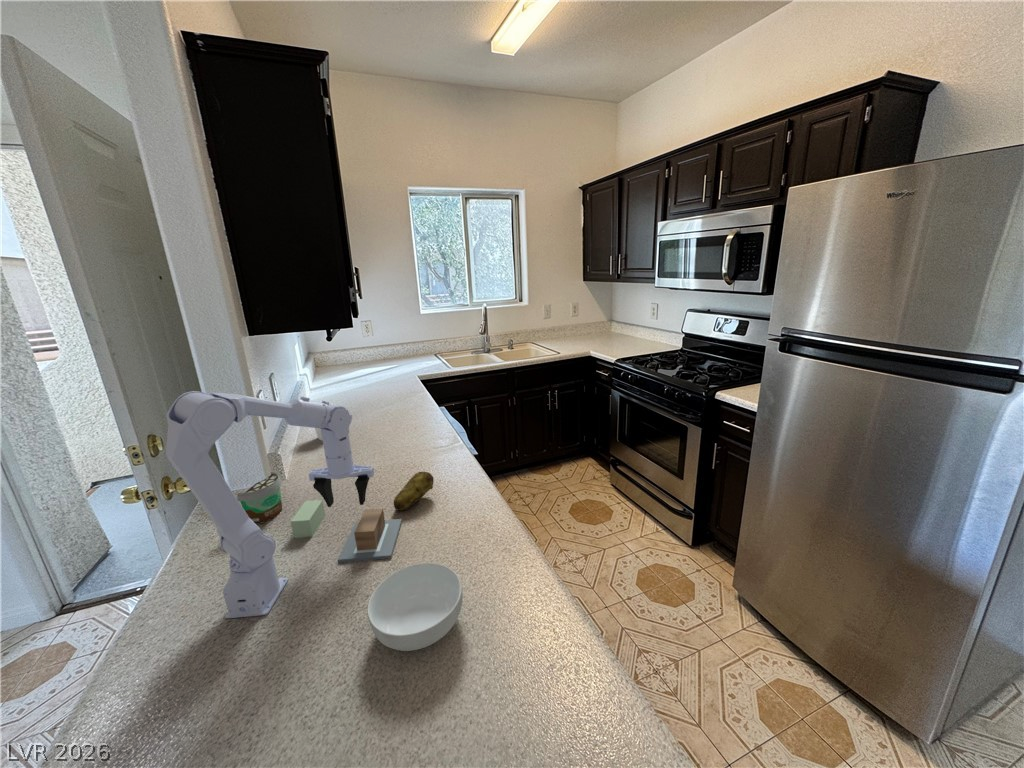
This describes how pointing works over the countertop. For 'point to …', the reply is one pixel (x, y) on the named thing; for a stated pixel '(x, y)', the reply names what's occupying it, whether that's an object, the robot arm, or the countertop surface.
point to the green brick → (308, 519)
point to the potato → (413, 490)
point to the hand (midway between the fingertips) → (346, 503)
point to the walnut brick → (370, 529)
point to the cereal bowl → (415, 606)
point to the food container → (263, 499)
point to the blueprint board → (382, 551)
